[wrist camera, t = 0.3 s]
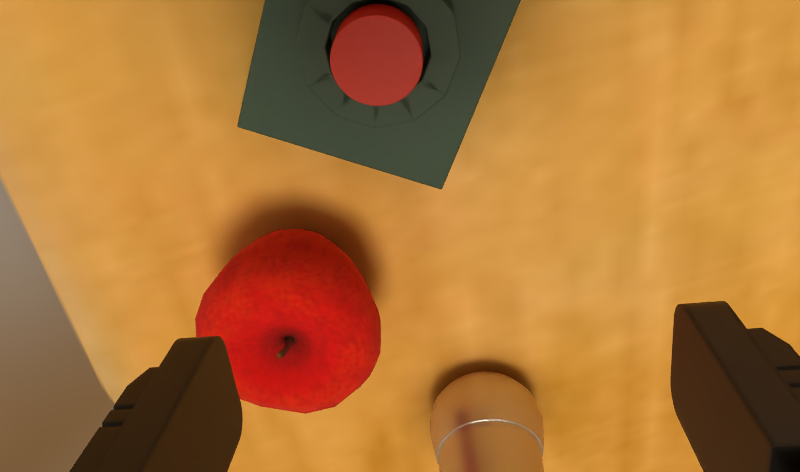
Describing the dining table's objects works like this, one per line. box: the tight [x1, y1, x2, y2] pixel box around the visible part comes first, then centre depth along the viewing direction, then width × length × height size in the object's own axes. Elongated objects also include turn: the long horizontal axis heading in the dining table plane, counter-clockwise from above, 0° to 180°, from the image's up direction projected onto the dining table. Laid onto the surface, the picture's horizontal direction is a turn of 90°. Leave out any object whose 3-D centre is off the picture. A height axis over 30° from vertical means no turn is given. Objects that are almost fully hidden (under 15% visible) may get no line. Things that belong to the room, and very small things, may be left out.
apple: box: [195, 229, 381, 413], centre depth 35 cm, size 9×9×8 cm
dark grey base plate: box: [238, 0, 521, 189], centre depth 29 cm, size 12×10×4 cm
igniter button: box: [330, 4, 423, 106], centre depth 27 cm, size 4×4×2 cm
